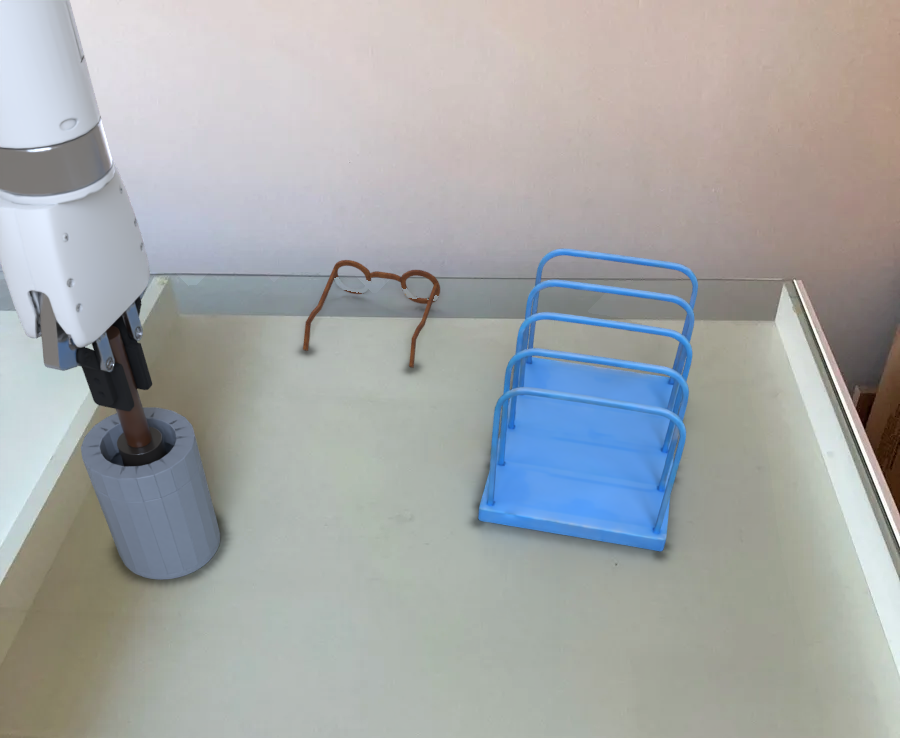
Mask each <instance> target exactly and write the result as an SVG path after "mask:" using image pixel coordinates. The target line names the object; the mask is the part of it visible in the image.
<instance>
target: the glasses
mask: <svg viewBox="0 0 900 738" xmlns="http://www.w3.org/2000/svg"><path fill="white" fill-rule="evenodd" d="M342 267H352V268H356V269H358V270H359V271H360V272H361V273H363V275H364V277H365V281H366V280H368V281H371V282H372V278H379V279H384V280H385V279H386V280H391V281H396V282H399V283H400V287H401V289H402V288H403V289H406V288H407V289H408V286H407V280H408V279H409V278H411V277H416V276H417V277H423V278H425V279H427V280H429V281H430V282H431V283H432V285H433V286H432V290H431V292H430V294H429V297H419V298H417V299H412V298H408V300H409V301H411V302H414V303H416V304H421V305H426V306H425V308H424V312H423V315H422V317H421V320H420V322H419V323H418V324H417V326H416V328H415V330H414V332H413V334H412V336H411V340H410V341H411V342H410V353H409V363H408V366H409V367H410V368H411V369H412V368H413V369H414V367H415V358H416V347H417V340H418V337H419V336H420V333H421V331H422V330H423V329H424V327H425V325H426V322H427V320H428V316H429V314H430V311H431V308H432V305H433V303H435V302H436V301H433V299H434V296H435V295H437V296H439V297H440V293H441V285H440V281H438V279H437V277H436V276H435V275H433V274H432V273H430V272H428V271H426V270H421V269H411V270H410V269H409V270H408V271H405V272H404V273H403V274H401V276H400V275H398V274H396V273H394V272H393V273H392V272H386V271H379V270H378V271H372V272H370V270H369V269H368V268H367V267H366V266H365V265H364V264H362V263H360V262H358V261H355V260H351V259H341V260H338V261H337V262H336V263H335V264H334V266H333V268H332V270H331V273H330V275H329V277H328V280H327V282H326V284H325V287H324V289H323V291H322V293H321V296H320V297H319V298H320V299H319V301H318V303H317V305H315V307H314V308H313V310H311V312H310V313H309V315H308V317H307V319H306V320H305V326H304V333H303V334H304V336H303V344H302V350H303V351H305V352H308V351H309V345H310V337H311V327H312V323H313V321H314V320H315V318H316V316H317V315H318V314H319V313H320V312H321V311H322V309H323V308H324V304H325V302H326V300H327V298H328V295H329V292H330V290H331V287H332V285H333V283H334V282H335V281H334V278H336V277H339V269H340V268H342ZM339 278H340V277H339ZM343 291H344V292H346V293H349V294H353V295H362V293H359V292H358V293H356V292H351V291H347V290H343ZM427 298H429V300H427Z"/></svg>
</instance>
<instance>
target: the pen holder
mask: <svg viewBox="0 0 900 738" xmlns="http://www.w3.org/2000/svg"><path fill="white" fill-rule="evenodd" d="M143 410H144V413H145V416H146V419H147V423H148V426H149V427H153V428H156V429H157V430H159V431H160V433H161V434H162V437H163V441H164V444H165V448H166V451H167V455H165V456H164V457H163V458H161V459H160V460H157V461H155V462H153V463H150V464H147V465H142V466H124V464H123V461H122V458H121V455H120V452H119V449H118V447H117V440H118V438H119V436H120V435H121V434H122V433H123V429H122V426H121V423H120V420H119V417H118V414H117V412H115V413H113V414H111V415H108V416H106V417H105V418H103V419H102V420H100V421H99V422H97V423H96V424H94V425H93V426H92V427H91V429H90V430H89V431H88V432H87V433H86V434H85V436H84V438H83V441H82V443H81V446H80V453H81V459H82V462H83V465H84V466H85V470H86V472H87V475H88V478H89V480H90V483H91V486H92V488H93V490H94V493H95V496H96V498H97V500H98V503H99V506H100V508H101V511H102V513H103V517H104V519H105V521H106V524H107V527H108V529H109V532H110V534H111V537H112V539H113V543H114V545H115V548H116V550H117V552H118V555H119V557H120V559H121V561H122V563H123V564H124V566H125V567H126V568H127V569H128V570H130V572H132V573H133V574H135V575H138V576H140V577H142V578H145V579H151V580H172V579H178V578H182V577H185V576H187V575H190V574H192V573H194V572H196V571H199V570H200V569H201V568H203V567H204V566H205V565H207V564H208V563H209V562H210V561H211V559H213V557H214V556H215V554H216V553H217V551H218V550H219V546H220V543H221V532H220V529H219V525H218V520H217V515H216V513H215V509H214V506H213V505H214V504H213V501H212V497H211V493H210V490H209V486H208V485H209V484H208V481H207V477H206V472H205V469H204V466H203V461H202V458H201V453H200V450H199V445H198V441H197V437H196V434H195V430H194V426H193V425H192V424H191V422H190V421H189V420H188V419H187V418H186V417H185V416H183V415H182V414H180V413H178V412H177V411H174V410H171V409H166V408H162V407H155V406H154V407H153V406H151V407H148V406H147V407H143Z"/></svg>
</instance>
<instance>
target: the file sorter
mask: <svg viewBox="0 0 900 738" xmlns="http://www.w3.org/2000/svg"><path fill="white" fill-rule="evenodd" d="M560 256H561V257H562V256H568V257H574V258H575V257H576V258H585V259H592V260H600V261H601V260H602V261H607V262H614V263H621V264H622V263H623V264H631V265H636V266H645V267H651V268H660V269H667V270H673V271H678V272H680V273H682V274H683V275H685V276H686V277H688V278H689V280H690V282H691V286H692V291H691V294H690V300H689V302H687V300H685V299H684V298H682V297H681V296H678V295H675V294H671V293H670V294H669V293H663V292H655V291H648V290H641V289H634V288H629V287H627V288H626V287H619V286H612V285H606V284H605V285H604V284H598V283H589V282H583V281H572V280H565V279H557V278H556V279H547V280H544V281H542V275H543V271H544V270H543V269H544V267H545V265H546V264H547V263H548V262H549V261H550V260H551V259H553V258H556V257H560ZM698 281H699V280H698V278H697V276H696V274H695V273H694V271H693V270H692V269H691V268H690V267H688V266H687V265H684V264H682V263H678V262H674V261H666V260H659V259H652V258H646V257H645V258H644V257H637V256H630V255H623V254H616V253H615V254H614V253H607V252H599V251H592V250H583V249H577V248H576V249H575V248H556V249H553V250H551V251H549V252H547V253H546V254H544V256H543V257H542V258H541V259H540V261H539V263H538V266H537V269H536V274H535V282H534V286H533V287H532V289H531V290H530V292H529V294H528V296H527V300H526V305H525V312H524V313H525V314H524V320H523V321H522V323H520V327H519V328H518V332H517V337H516V344H515V353H514V355H513V356H511V357H510V359H509V360H508V362H507V365H506V368H505V373H504V379H503V381H504V382H503V392H502V394H501V395H500V397H498V399H497V401H496V404H495V406H494V410H493V417H492V418H493V419H492V421H493V422H492V430H491V431H492V432H491V443H490V457H489V471H488V474H487V479H486V481H485V485H484V489H483V492H482V496H481V499H480V502H479V507H478V516H477V519H478V520H479V521H480V522H484V523H490V524H491V523H492V524H497V525H504V526H509V527H515V528H520V529H527V530H533V531H537V532H538V531H539V532H545V533H551V534H556V535H563V536H568V537H575V538H580V539H586V540H593V541H598V542H604V543H609V544H614V545H615V544H616V545H621V546H628V547H632V548H638V549H645V550H650V551H657V552H663V551H664V549H665V547H666V542H667V537H668V526H669V515H670V514H669V513H670V503H671V495H672V491H673V488H674V485H675V482H676V481H675V480H676V478H677V475H678V471H679V468H680V463H681V459H682V457H683V452H684V448H685V446H686V445H685V444H686V441H687V440H686V439H687V428H686V426H685V423H684V419H685V415H686V411H687V406H688V403H689V395H690V389H689V388H690V387H689V384H688V382H687V381H688V377H689V374H690V370H691V366H692V362H693V347H692V345H691V339H692V334H693V332H694V328H695V312H694V310H695V305H696V300H697V298H698V291H699V282H698ZM554 287H555V288H563V289H570V290H571V289H572V290H577V291H578V290H579V291H586V292H594V293H595V292H596V293H603V294H604V293H605V294H610V295H617V296H618V295H619V296H624V297H625V296H626V297H635V298H640V299H647V300H648V299H649V300H654V301H662V302H667V303H673V304H675V305H678V306H680V307H681V308H682V309H683V310H684V311H685V313H686V315H685V319H684V323H683V327H682V330H681V332H679V331H677V330H674V329H671V328H665V327H660V326H653V325H645V324H640V323H632V322H625V321H619V320H612V319H611V320H610V319H603V318H597V317H591V316H590V317H589V316H583V315H576V314H575V315H574V314H567V313H560V312H553V311H540V312H538V308H539V307H538V306H539V299H540V298H539V297H540V291H542V290H545V289H548V288H554ZM542 320H543V321H544V320H545V321H546V320H549V321H555V322H556V321H557V322H564V323H571V324H580V325H587V326H593V327H594V326H595V327H601V328H609V329H615V330H616V329H617V330H623V331H628V332H638V333H643V334H649V335H656V336H663V337H667V338H671V339H674V340H676V341H677V342H679V343H678V346H677V350H676V353H675V358H674V361H673V364H672V368H671V367H669V366H664V365H659V364H651V363H647V362H639V361H634V360H627V359H620V358H612V357H606V356H599V355H592V354H585V353H578V352H571V351H564V350H555V349H548V348H539V347H534V342H535V333H536V323H537V322H539V321H542ZM540 357H541V358H540ZM548 358H549V359H548ZM557 359H558V360H557ZM569 361H570V362H569ZM571 361H572V362H571ZM576 362H578V363H576ZM579 362H580V363H579ZM583 363H586V364H583ZM591 364H594V365H591ZM597 365H602V366H597ZM604 366H606V367H604ZM607 366H609V367H607ZM610 367H611V368H610ZM612 367H613V368H612ZM618 368H621V369H618ZM623 369H624V370H623ZM625 369H627V370H625ZM631 370H635V371H631ZM637 371H642V372H637ZM512 372H513V373H512ZM644 372H648V373H644ZM650 373H651V374H650ZM652 373H653V374H652ZM659 374H660V375H659ZM663 375H665V376H663ZM511 379H512V386H511Z"/></svg>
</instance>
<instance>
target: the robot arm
mask: <svg viewBox="0 0 900 738" xmlns="http://www.w3.org/2000/svg"><path fill="white" fill-rule="evenodd" d="M91 78H92V77H91V75H90V71H89V66H88V64H87V59H86V55H85V52H84V49H83V44H82V41H81V37H80V33H79V30H78V26H77V22H76V19H75V15H74V10H73V8H72V4H71V1H70V0H0V265H1V269H2V274H3V277H4V280H5V282H6V283H5V284H6V286H7V289H8V292H9V295H10V298H11V301H12V304H13V307H14V309H15V312H16V315H17V318H18V320H19V323H20V325H21V328H22V330H23V331H24V333H25V335H26V336H27V337H28V338H30V339H38V338H41V347H42V357H43V359H42V360H43V365H44V366H45V368H48V369H53V370H57V371H62V372H64V371H67V370H71V369H74V368H77V367H81V369H82V371H83V375H84V377H85V380H86V383H87V386H88V388H89V392H90V394H91V397H92V400H93V402H94V404H96V405H98V406H100V407H104V408H105V407H106V408H110V409H114V410H116V409H119V410H124V411H131V410H132V408H133V407H134V401H133V397H132V394H131V391H130V388H129V385H128V381H127V378H126V375H125V372H124V369H123V366H122V364H119V363H115V360H114V356H113V353H112V350H111V347H110V344H109V340H108V337H107V334H106V330H107V329H108V328H109V327H110V326H115V327H117V328H118V329H119V331H120V334H121V338H122V341H123V344H124V347H125V351H126V354H127V357H128V361H129V364H130V367H131V370H132V374H133V377H134V380H135V383H136V387H137V390H142V391H148V390H149V389H150V388H151V387H152V386H153V380H152V376H151V374H150V370H149V367H148V364H147V360H146V357H145V352H144V350H143V346H142V343H141V342H140V341H141V340H142V338H143V335H144V330H143V326H142V323H141V319H140V314H141V309H142V299H143V297H144V296H145V295H144V294H145V292H146V290H147V288H148V285H149V283H150V280H151V269H150V263H149V257H148V252H147V248H146V245H145V241H144V237H143V234H142V231H141V227H140V225H139V222H138V219H137V215H136V212H135V209H134V207H133V204H132V201H131V198H130V195H129V193H128V189H127V187H126V185H125V182H124V180H123V177H122V175H121V173H120V170H119V168H118V166H117V164H116V162H115V159H114V158H113V155H112V153H111V150H110V146H109V142H108V139H107V135H106V130H105V128H104V124H103V119H102V115H101V113H100V108H99V105H98V102H97V98H96V94H95V90H94V87H93V82H92V79H91ZM90 345H91V346H92V348H93V349H91V348H89V347H87V346H90Z"/></svg>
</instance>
